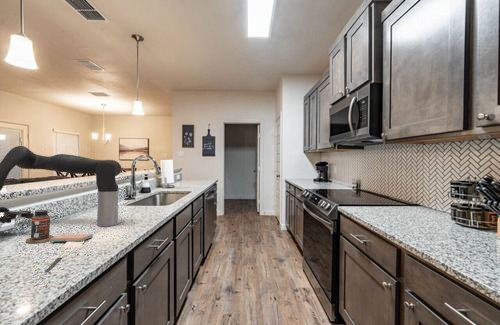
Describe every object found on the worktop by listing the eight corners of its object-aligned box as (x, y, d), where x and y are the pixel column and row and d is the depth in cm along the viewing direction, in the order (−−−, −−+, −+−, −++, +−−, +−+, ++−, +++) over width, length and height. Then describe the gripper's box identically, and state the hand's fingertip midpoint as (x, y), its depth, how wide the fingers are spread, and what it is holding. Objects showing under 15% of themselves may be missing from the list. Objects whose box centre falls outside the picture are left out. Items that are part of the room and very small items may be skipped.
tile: (50, 238, 103) (82, 237, 104) (63, 234, 111) (92, 234, 112) (50, 241, 103) (81, 240, 104) (63, 237, 111) (92, 236, 112)
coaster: (57, 236, 112) (57, 234, 112) (49, 242, 104) (49, 240, 104) (31, 238, 109) (31, 236, 109) (21, 244, 101) (21, 242, 101)
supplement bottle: (38, 241, 103) (39, 212, 103) (26, 239, 104) (27, 211, 104) (53, 236, 109) (54, 209, 109) (41, 235, 110) (42, 208, 110)
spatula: (84, 243, 106) (84, 240, 106) (58, 273, 78) (58, 268, 78) (67, 245, 104) (67, 241, 104) (33, 275, 76) (33, 270, 76)
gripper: (-28, 209, 106) (2, 212, 102) (12, 204, 120) (39, 206, 116) (-28, 227, 106) (1, 231, 102) (11, 220, 120) (39, 223, 116)
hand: (21, 218), depth 109 cm, fingers open, 8 cm apart
